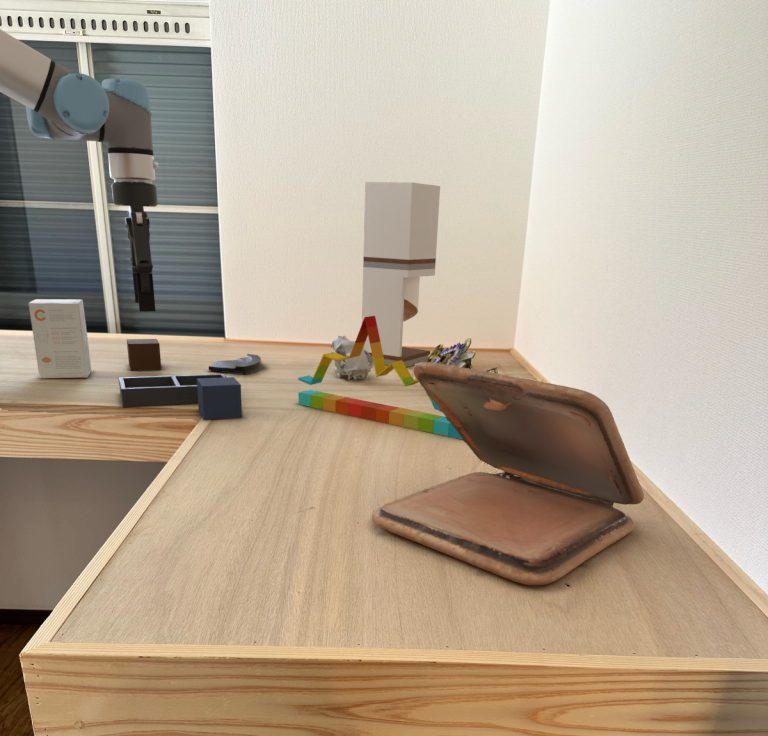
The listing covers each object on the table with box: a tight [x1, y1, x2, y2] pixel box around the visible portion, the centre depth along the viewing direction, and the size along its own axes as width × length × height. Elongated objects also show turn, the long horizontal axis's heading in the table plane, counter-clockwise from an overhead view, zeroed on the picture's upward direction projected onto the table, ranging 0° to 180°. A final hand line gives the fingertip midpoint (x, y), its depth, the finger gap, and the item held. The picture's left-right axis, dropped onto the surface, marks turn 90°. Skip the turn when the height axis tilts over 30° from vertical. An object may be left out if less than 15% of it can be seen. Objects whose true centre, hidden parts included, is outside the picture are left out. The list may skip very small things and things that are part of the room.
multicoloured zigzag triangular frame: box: [297, 316, 463, 440], centre depth 108 cm, size 30×3×15 cm, turn 56°
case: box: [371, 361, 645, 586], centre depth 70 cm, size 20×21×16 cm
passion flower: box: [427, 337, 499, 374], centre depth 126 cm, size 11×11×12 cm
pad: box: [197, 376, 243, 421], centre depth 109 cm, size 6×6×5 cm
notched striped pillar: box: [361, 181, 441, 368], centre depth 151 cm, size 11×11×35 cm
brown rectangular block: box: [126, 338, 162, 372], centre depth 140 cm, size 6×6×5 cm
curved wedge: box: [208, 353, 262, 375], centre depth 144 cm, size 8×14×2 cm, turn 162°
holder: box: [118, 373, 228, 408], centre depth 118 cm, size 17×9×3 cm, turn 111°
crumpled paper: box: [330, 335, 374, 381], centre depth 139 cm, size 8×9×12 cm
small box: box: [27, 298, 92, 379], centre depth 129 cm, size 8×6×13 cm
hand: (145, 307), depth 136 cm, fingers open, 13 cm apart
